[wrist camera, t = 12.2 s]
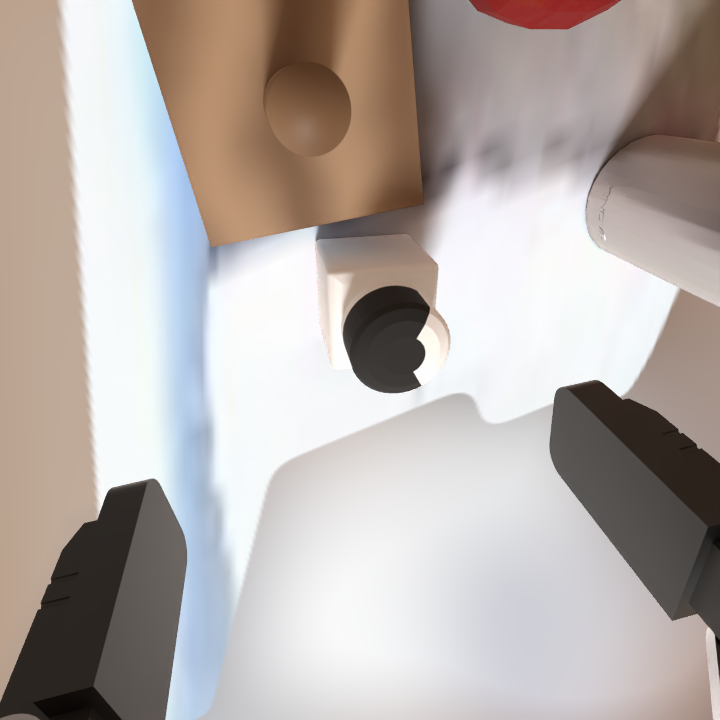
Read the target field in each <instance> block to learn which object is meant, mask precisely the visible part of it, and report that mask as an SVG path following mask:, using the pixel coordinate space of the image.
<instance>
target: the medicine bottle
mask: <svg viewBox="0 0 720 720" xmlns="http://www.w3.org/2000/svg"><path fill="white" fill-rule="evenodd" d="M315 249H316V267H317V285H318V302H319V320H320V327H321V330H322V334H323V337H324V341H325V345H326V348H327V352H328V355H329V359H330V362H331V366H332V367H333V368H334V369H346V368H352V369H353V371H354V373H355V374H356V376H357V377H358V379H359V380H360V381H361V382H362V383H363V384H365V385H366V386H368V387H369V388H371V389H373V390H376V391H379V392H383V393H402V392H406V391H410V390H413V389H416V388H418V387H420V386H422V385H423V384H425V383H426V382H428V381H429V380H430V379H432V378H433V377H434V376H435V375H436V374H437V373H438V371H439V370H440V369H441V368H442V366H443V364H444V363H445V361H446V359H447V356H448V353H449V349H450V333H449V329H448V326H447V324H446V322H445V320H444V319H443V318H442V316H441V315H440V314H439V313H438V311H437V310H436V309H435V304H436V292H437V279H438V264H437V263H436V262H435V261H434V260H433V259H432V258H431V257H430V256H429V255H428V254H427V253H426V252H425V251H424V250H423V249H422V248H421V247H420V246H419V245H418V244H417V243H416V242H415V241H414V240H413V239H412V238H411V237H410V236H409V235H408V234H396V235H380V236H365V237H349V238H333V239H319V240H317V241H316V244H315Z"/></svg>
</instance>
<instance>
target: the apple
mask: <svg viewBox="0 0 720 720" xmlns="http://www.w3.org/2000/svg"><path fill="white" fill-rule="evenodd" d="M619 1H621V0H470V2H471V3H472V4H473V6H474V7H475V8H476V9H477V11H480V12H482V13H484V14H487V15H489V16H492V17H494V18H496V19H499V20H501V21H504V22H506V23H509V24H513V25H517V26H521V27H525V28H528V29H569V28H571V27H573V26H576V25H578V24H580V23H582V22H584V21H586V20H588V19H590V18H592V17H594V16H596V15H598V14H600V13H602V12H604V11H606V10H608V9H609V8H611V7H612V6H613V5H615V4H616V3H618V2H619Z"/></svg>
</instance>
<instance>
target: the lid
mask: <svg viewBox="0 0 720 720" xmlns="http://www.w3.org/2000/svg"><path fill="white" fill-rule="evenodd" d="M132 2H133V6H134V9H135V12H136V15H137V18H138V21H139V24H140V27H141V30H142V34H143V37H144V40H145V43H146V46H147V49H148V52H149V55H150V58H151V62H152V65H153V68H154V71H155V74H156V77H157V80H158V83H159V86H160V90H161V93H162V96H163V99H164V102H165V105H166V108H167V111H168V115H169V118H170V121H171V124H172V127H173V130H174V133H175V136H176V139H177V143H178V146H179V149H180V152H181V155H182V158H183V161H184V164H185V167H186V171H187V174H188V177H189V180H190V183H191V186H192V189H193V192H194V195H195V199H196V202H197V205H198V208H199V211H200V214H201V217H202V220H203V223H204V227H205V230H206V233H207V236H208V239H209V242H210V245H211V247H215V246H220V245H225V244H230V243H234V242H239V241H244V240H249V239H254V238H259V237H264V236H269V235H274V234H279V233H284V232H289V231H293V230H298V229H303V228H308V227H313V226H318V225H323V224H328V223H333V222H338V221H343V220H348V219H353V218H357V217H362V216H367V215H372V214H377V213H382V212H387V211H392V210H397V209H402V208H407V207H412V206H416V205H421V204H423V191H422V177H421V164H420V150H419V137H418V123H417V110H416V96H415V83H414V69H413V56H412V42H411V29H410V15H409V2H408V0H132Z"/></svg>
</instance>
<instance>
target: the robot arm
mask: <svg viewBox="0 0 720 720" xmlns="http://www.w3.org/2000/svg"><path fill="white" fill-rule="evenodd" d="M586 223H587V228H588V232H589V234H590V236H591V238H592V240H593V241H594V242H595V243H596V245H597V246H598V247H599V248H601V249H603V250H605V251H606V252H608V253H610V254H612V255H614V256H616V257H618V258H621V259H623V260H625V261H627V262H629V263H631V264H633V265H634V266H636V267H638V268H640V269H643V270H645V271H647V272H649V273H651V274H653V275H655V276H657V277H659V278H661V279H663V280H665V281H667V282H669V283H671V284H673V285H675V286H677V287H679V288H682V289H684V290H686V291H688V292H690V293H692V294H694V295H696V296H698V297H700V298H702V299H704V300H706V301H708V302H710V303H712V304H714V305H716V306H718V307H720V143H718V142H711V141H706V140H698V139H691V138H684V137H676V136H669V135H651V136H645V137H643V138H640V139H638V140H635V141H633V142H631V143H630V144H628V145H627V146H625V147H624V148H622V149H621V150H620V151H619V152H617V153H616V154H615V155H614V156H613V157H612V158H611V159H610V160H609V161H608V163H607V164H606V165H605V166H604V168H603V169H602V170H601V172H600V173H599V175H598V177H597V179H596V180H595V182H594V184H593V186H592V189H591V192H590V194H589V197H588V202H587V207H586ZM550 454H551V458H552V461H553V464H554V466H555V468H556V470H557V472H558V474H559V475H560V476H561V478H562V479H563V480H564V481H565V483H566V484H567V485H568V487H569V488H570V489H571V491H572V492H573V493H574V494H575V496H576V497H577V498H578V500H579V501H580V502H581V503H582V505H583V506H584V507H585V508H586V510H587V511H588V513H589V514H590V515H591V516H592V517H593V519H594V520H595V522H596V523H597V524H598V525H599V527H600V528H601V529H602V531H603V532H604V533H605V535H606V536H607V537H608V538H609V540H610V541H611V542H612V544H613V545H614V546H615V547H616V549H617V550H618V551H619V553H620V554H621V555H622V556H623V558H624V559H625V560H626V562H627V563H628V564H629V566H630V567H631V568H632V569H633V571H634V572H635V573H636V575H637V576H638V577H639V578H640V580H641V581H642V582H643V584H644V585H645V586H646V588H647V589H648V590H649V591H650V593H651V594H652V595H653V597H654V598H655V599H656V600H657V602H658V603H659V604H660V606H661V607H662V608H663V609H664V611H665V612H666V613H667V615H668V616H669V617H670V618H671V620H672V621H673V620H677V619H680V618H683V617H687V616H691V615H694V614H698V615H699V616H700V617H701V618H702V619H703V621H704V622H705V623H706V624H707V625H708V629H707V632H706V649H707V659H708V670H709V681H710V692H711V703H712V713H713V720H720V463H719V462H717V461H716V460H715V459H714V458H712V457H711V456H710V455H709V454H708V453H707V452H705V451H704V450H703V449H698V448H697V445H696V443H694V442H693V441H692V440H691V439H690V438H688V437H687V436H686V435H685V434H683V433H681V434H680V433H679V431H678V429H677V428H676V427H675V426H674V425H672V424H671V423H670V422H669V421H668V420H666V419H665V418H664V417H663V416H662V415H660V414H659V413H658V412H657V411H655V410H652V409H650V408H648V407H646V406H644V405H642V404H639V403H637V402H635V401H633V400H631V399H625V400H622V399H621V398H620V397H619V396H617V395H616V394H615V393H614V392H613V391H612V390H610V389H609V388H608V387H607V386H606V385H605V384H603V383H602V382H600V381H598V380H592V381H588V382H583V383H579V384H575V385H570V386H566V387H561V388H559V389H558V390H557V391H556V393H555V398H554V407H553V416H552V426H551V435H550ZM186 566H187V548H186V541H185V537H184V534H183V531H182V529H181V527H180V524H179V522H178V520H177V518H176V516H175V514H174V512H173V510H172V508H171V506H170V504H169V502H168V500H167V498H166V496H165V494H164V492H163V490H162V488H161V486H160V484H159V483H158V481H157V480H155V479H149V480H144V481H140V482H135V483H131V484H126V485H122V486H118V487H113V488H111V489H110V490H109V491H108V493H107V495H106V497H105V500H104V503H103V506H102V508H101V511H100V514H99V517H98V520H96V521H92V522H88V523H84V524H83V525H82V527H81V528H80V529H79V530H78V531H77V533H76V534H75V535H74V536H73V538H72V539H71V540H70V541H69V543H68V544H67V545H66V546H65V547H64V549H63V550H62V552H61V555H60V557H59V560H58V562H57V564H56V567H55V570H54V572H53V574H52V577H51V584H49V585H48V587H47V589H46V592H45V594H44V596H43V599H42V601H41V609H39V610H38V611H37V613H36V616H35V618H34V621H33V623H32V626H31V628H30V631H29V633H28V636H27V638H26V640H25V643H24V645H23V648H22V650H21V653H20V655H19V657H18V660H17V662H16V665H15V668H14V670H13V672H12V675H11V677H10V680H9V682H8V684H7V687H6V689H5V692H4V694H3V697H2V700H1V702H0V720H165V717H166V710H167V703H168V695H169V688H170V681H171V674H172V667H173V659H174V652H175V645H176V638H177V631H178V624H179V616H180V609H181V602H182V595H183V588H184V580H185V573H186Z"/></svg>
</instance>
